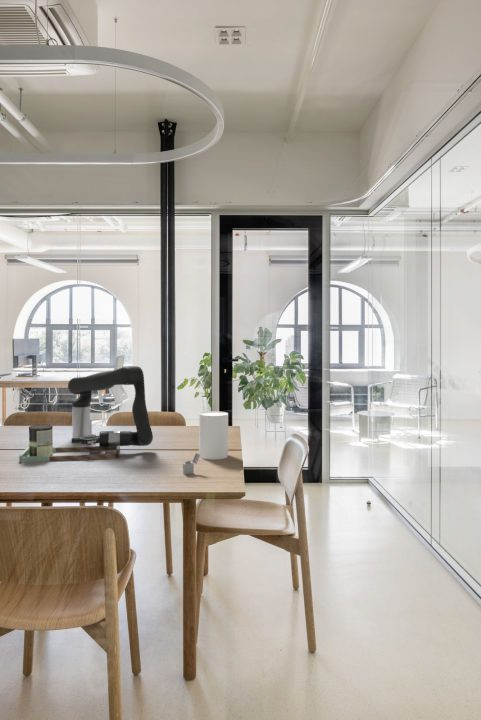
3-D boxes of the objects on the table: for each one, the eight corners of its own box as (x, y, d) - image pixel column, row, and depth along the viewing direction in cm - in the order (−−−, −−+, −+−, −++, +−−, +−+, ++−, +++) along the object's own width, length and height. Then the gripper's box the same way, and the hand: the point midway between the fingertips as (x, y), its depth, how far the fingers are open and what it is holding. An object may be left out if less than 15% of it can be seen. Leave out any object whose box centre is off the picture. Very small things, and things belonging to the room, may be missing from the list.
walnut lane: (119, 449, 248) (119, 445, 248) (118, 458, 230) (118, 453, 230) (28, 452, 240) (28, 448, 239) (19, 462, 222) (19, 457, 221)
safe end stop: (56, 451, 242) (56, 445, 242) (49, 461, 224) (49, 454, 224) (28, 452, 240) (28, 446, 239) (19, 462, 222) (19, 455, 221)
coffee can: (25, 459, 227) (24, 428, 226) (34, 453, 237) (33, 424, 237) (48, 459, 227) (47, 428, 226) (56, 453, 237) (55, 424, 237)
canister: (233, 455, 236) (234, 413, 235) (213, 461, 226) (213, 417, 225) (213, 451, 245) (214, 410, 244) (193, 455, 235) (193, 413, 234)
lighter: (184, 474, 204) (184, 455, 204) (182, 473, 206) (182, 454, 205) (200, 472, 207) (200, 453, 207) (198, 471, 209) (198, 452, 208)
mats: (115, 450, 246) (115, 449, 246) (114, 457, 232) (114, 456, 232) (90, 451, 243) (90, 450, 243) (87, 458, 229) (87, 457, 229)
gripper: (110, 428, 244) (73, 429, 241) (109, 433, 231) (69, 435, 228) (110, 443, 244) (73, 445, 241) (109, 450, 231) (69, 451, 228)
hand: (71, 440), depth 234 cm, fingers closed
